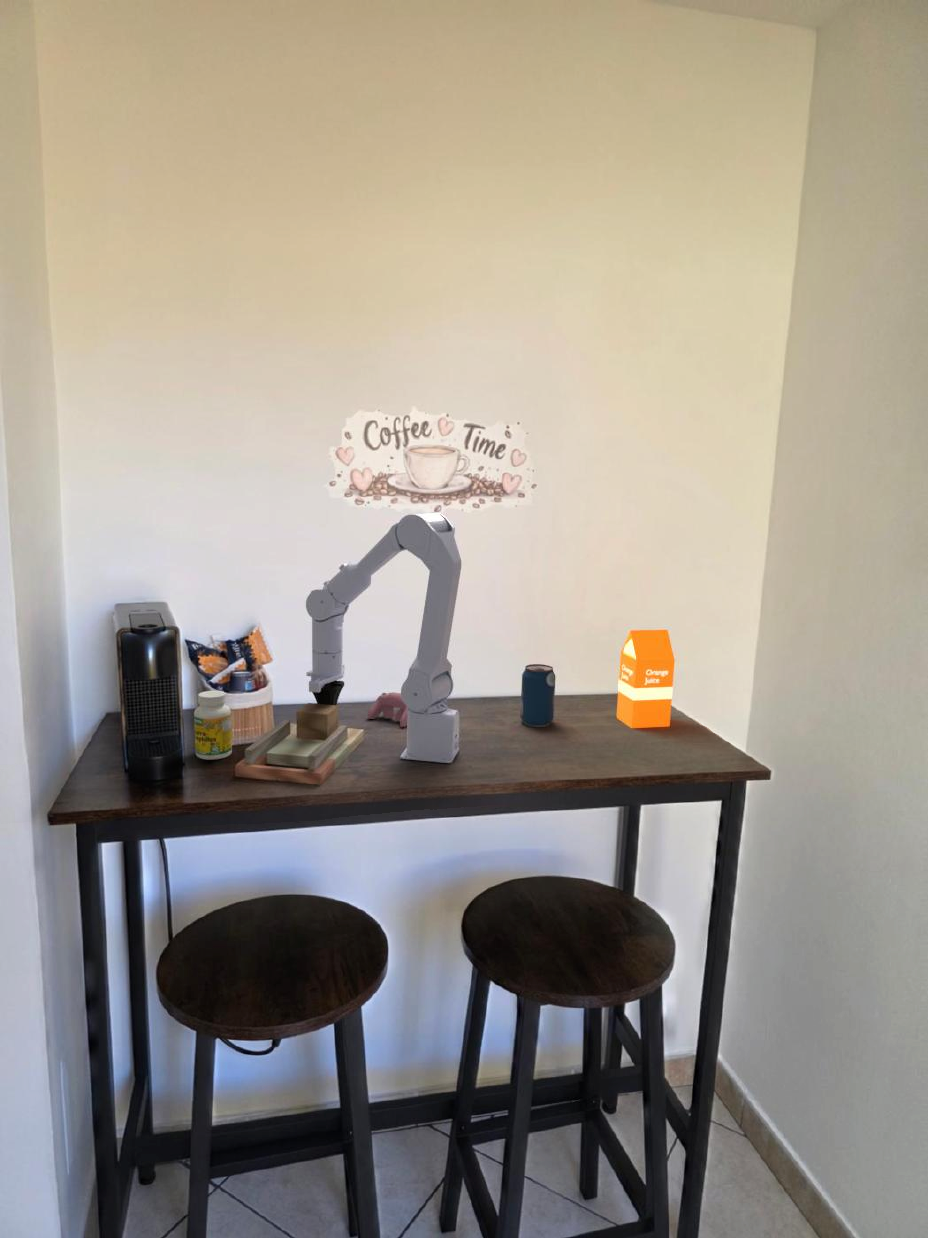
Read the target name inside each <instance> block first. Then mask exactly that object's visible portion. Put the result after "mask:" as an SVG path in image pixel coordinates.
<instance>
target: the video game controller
mask: <svg viewBox="0 0 928 1238" xmlns="http://www.w3.org/2000/svg"><path fill="white" fill-rule="evenodd" d="M394 708H398V710H397V711H396V712H395V709H394ZM381 713H382V715H383V718H385V719H387V720H393V718H395V720H396V721H397V722H399V726H400V727H401V728H402V727H404V728H407V706H406V705H405V703H404V702H403V700H402V697H401V692H400V693H399V692H395V691H393V692H382V693H381V695H379V696H378V697H377V698H376V700H375V701H374V703H373V704H372V705H371V707H370V708H369V710H368V713H367V718H368V720H369V719H373V720H374V719H376V718H377V717H378V716H379V715H380V714H381Z"/></svg>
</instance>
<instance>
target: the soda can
mask: <svg viewBox="0 0 928 1238" xmlns="http://www.w3.org/2000/svg"><path fill="white" fill-rule="evenodd" d="M524 667H525V669H524V671H523V672H522V674H521V691H520V692H521V694H520V714H519V715H520V719H521V721H522V723H523V724H524V725H526V726H527V727H533V728H542V727H548V726H550V725H551V723H552V721H553V720H554V715H555V713H554V712H555V693H556V674H555V672H554V668H553V666H551V665H547V664H541V663H539V664H538V663H535V664H527V665H525V666H524Z"/></svg>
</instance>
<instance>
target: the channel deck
mask: <svg viewBox="0 0 928 1238" xmlns="http://www.w3.org/2000/svg"><path fill="white" fill-rule="evenodd" d="M364 740H365V729H361V728H360V729H359V728H352V727H351V728H348V725H343V724H341V725H340V726H338V729H337V730H336V731H335V732H334V733H332V734H331V735H330V736H329V737H328V738H327V739H326V740H315V739H304V738H297V724H296V723H292V722H291V720H283V721H281V722H280V723H278V724H277V725H276V726H275V727H273V728H272V729H271V730H269V731H268V732H267V733H265V734H264V735H263V736H261V737H260V738H259V739H257V740H256V741H255V742H253V743H252V744H250V745H249V746H248V747H247V748H245V749H244V758H243V759H241V760H240V761H239V762H238V763H236V764H235V765H234V766H235V768H234V769H235V771H234V772H235V777H237V778H247V779H258V780H267V781H276V780H278V782H286V781H287V783H298V784H305V783H306V784H305V785H307V784H308V785H315V784H316V785H317V786H321V785H322V784H323V783H324V782H325V781H326V780H327V779H328V778H329V777H330V776H331V775H332V774H331V773H334V771H335V770H337V768H338V767H339V766H340V765H341V764H343V762H344V761H345V760H346V759H347V758H348V757H349V756H350V755H351V754H352V753H353V752H354V751H355V749H357V747H358V746H359V745H360V744H361V743H362V742H363V741H364ZM268 765H269V766H268ZM270 765H278V766H270ZM281 766H286V767H281ZM287 766H288V767H287ZM292 767H297V768H292ZM298 767H299V768H298ZM301 768H303V769H301ZM304 768H307V769H304ZM288 781H289V782H288Z"/></svg>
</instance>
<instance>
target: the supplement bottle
mask: <svg viewBox="0 0 928 1238" xmlns="http://www.w3.org/2000/svg"><path fill="white" fill-rule="evenodd" d="M197 702H198V706H197V707H196V708H195V710H194V712H193V719H194V720H193V723H194V726H193V727H194V744H195V745H194V747H195V755H196V756H197V758H198V759H202V760H207V761H208V760H209V761H211V760H221V759H225V758H228V757H229V756H230V755H231V754H232V753H233V741H232V740H233V735H232V710H231V707H229V705H226V702H227V698H226V692H224V691H222V690H206V691H201V692H199V693H198V694H197Z"/></svg>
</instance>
